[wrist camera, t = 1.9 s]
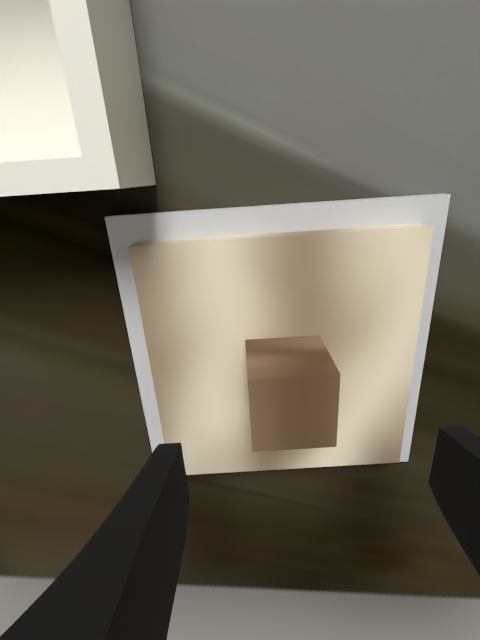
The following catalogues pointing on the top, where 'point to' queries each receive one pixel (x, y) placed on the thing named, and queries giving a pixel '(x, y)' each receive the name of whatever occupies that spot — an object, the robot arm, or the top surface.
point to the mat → (261, 222)
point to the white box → (70, 98)
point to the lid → (283, 344)
